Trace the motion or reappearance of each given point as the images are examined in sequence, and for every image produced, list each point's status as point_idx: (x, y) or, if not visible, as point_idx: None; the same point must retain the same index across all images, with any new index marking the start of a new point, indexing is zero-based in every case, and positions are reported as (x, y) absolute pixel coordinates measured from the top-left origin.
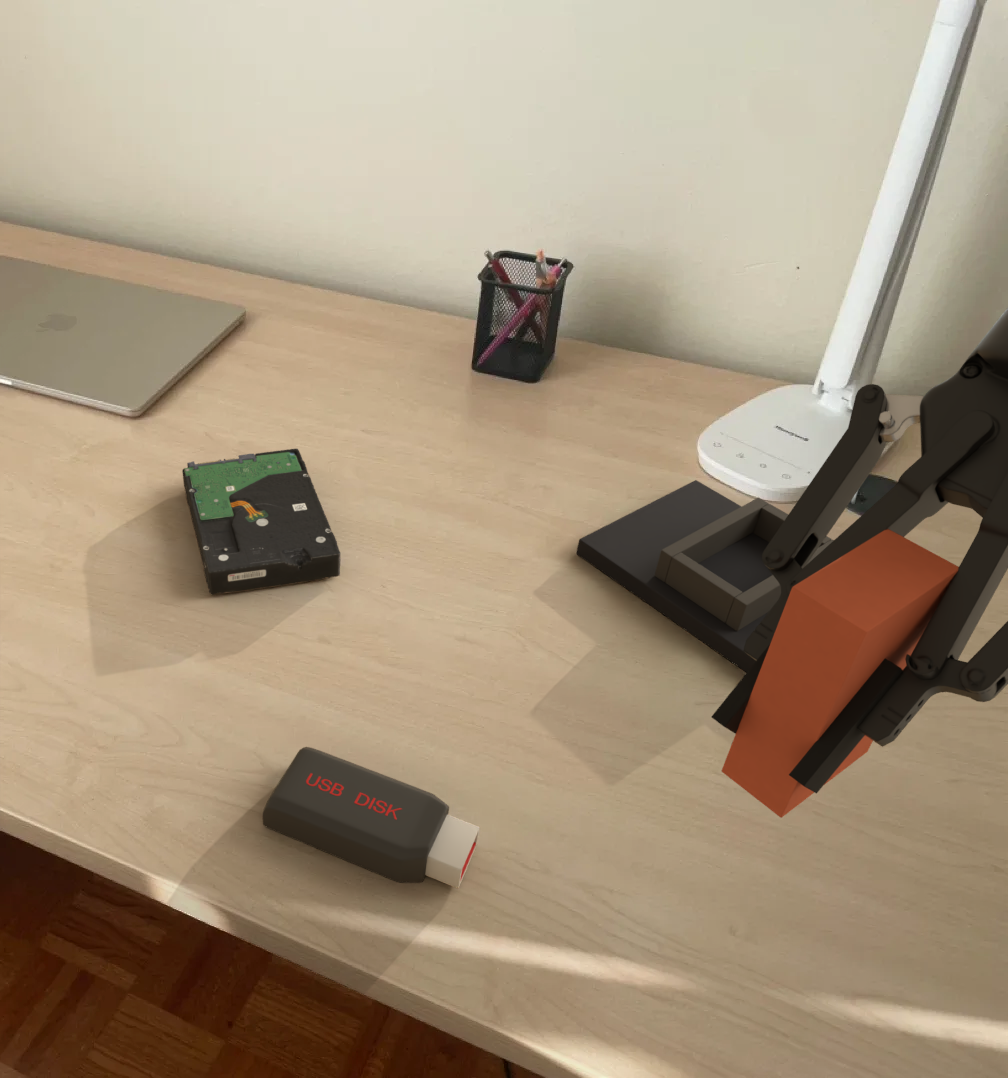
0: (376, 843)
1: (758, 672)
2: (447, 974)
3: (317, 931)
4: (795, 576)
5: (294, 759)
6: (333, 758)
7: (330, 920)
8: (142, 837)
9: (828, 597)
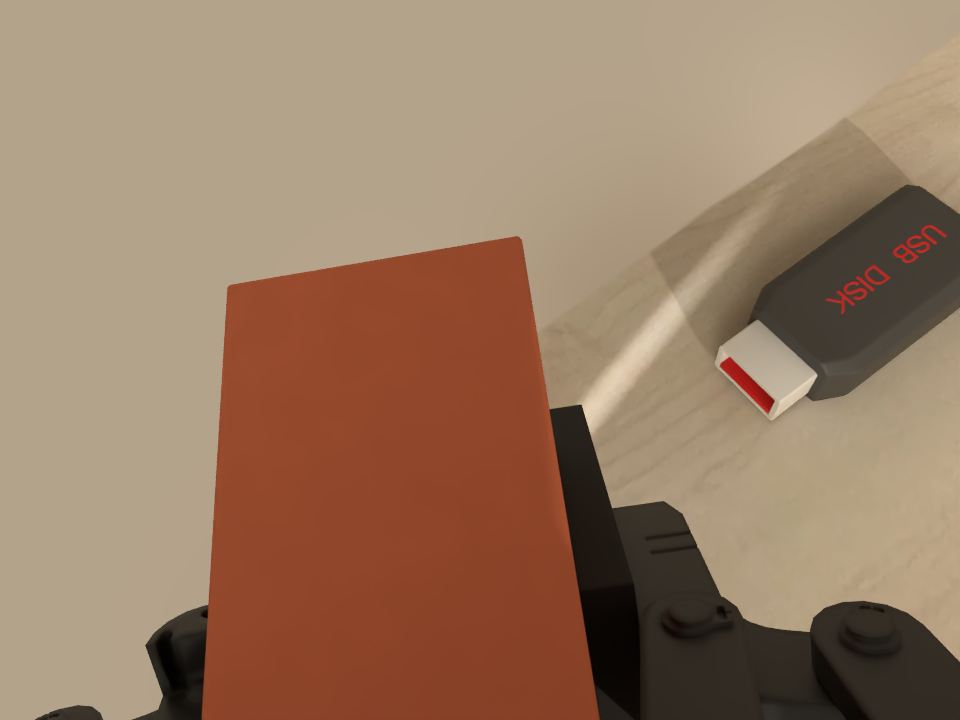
0: (798, 267)
1: (575, 467)
2: (618, 307)
3: (726, 213)
4: (742, 636)
5: None
6: None
7: (734, 229)
8: (921, 97)
9: (412, 302)
